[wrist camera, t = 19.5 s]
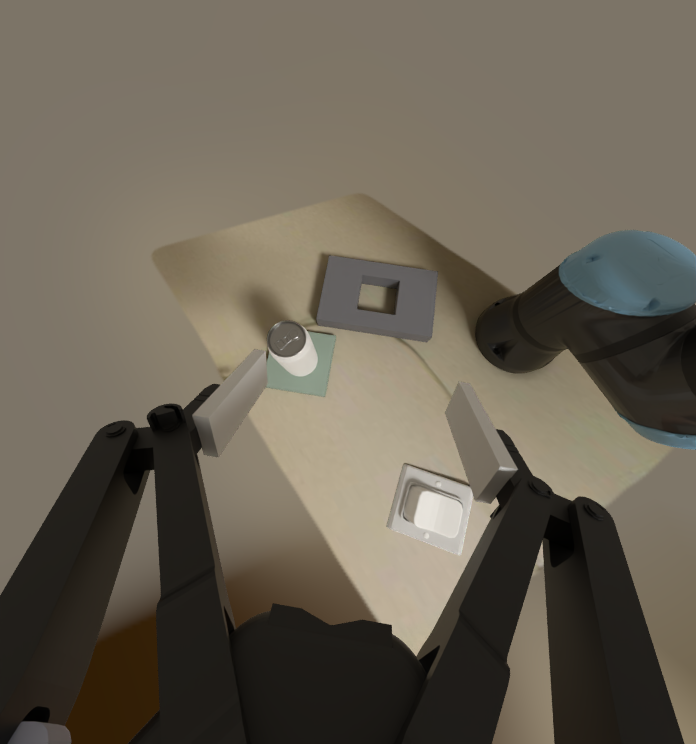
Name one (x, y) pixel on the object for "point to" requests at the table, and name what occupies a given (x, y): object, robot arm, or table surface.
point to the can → (292, 348)
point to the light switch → (431, 509)
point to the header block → (410, 283)
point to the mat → (311, 382)
